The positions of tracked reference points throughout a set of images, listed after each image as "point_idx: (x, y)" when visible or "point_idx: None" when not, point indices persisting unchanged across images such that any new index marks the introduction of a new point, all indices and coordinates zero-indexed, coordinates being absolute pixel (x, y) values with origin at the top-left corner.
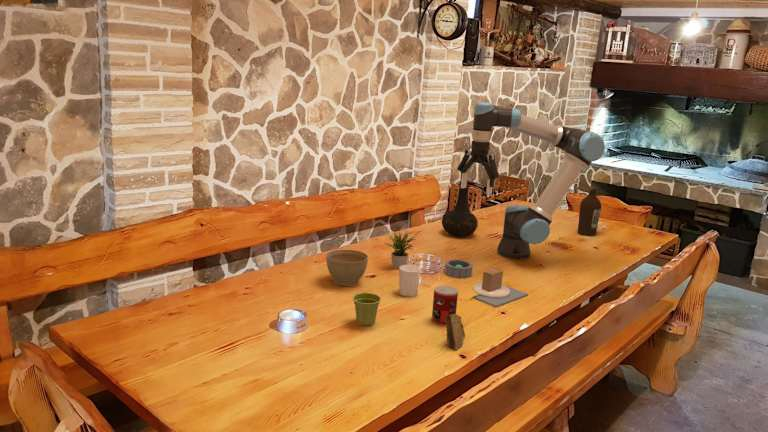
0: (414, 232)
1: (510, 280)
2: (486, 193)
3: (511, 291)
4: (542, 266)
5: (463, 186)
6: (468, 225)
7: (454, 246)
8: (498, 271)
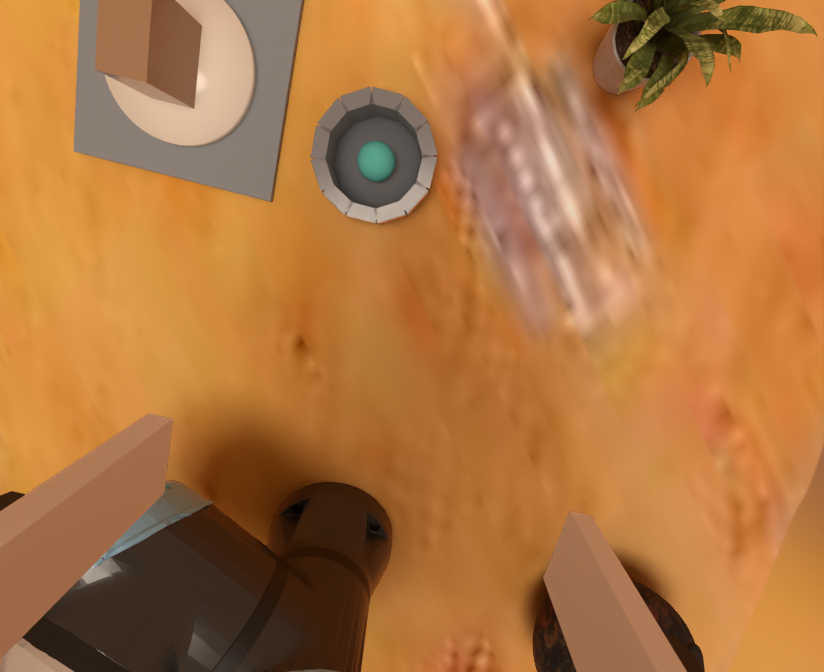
0: (751, 526)
1: (204, 262)
2: (157, 424)
3: (129, 129)
4: (197, 481)
5: (569, 549)
6: (556, 625)
7: (544, 476)
8: (104, 42)
